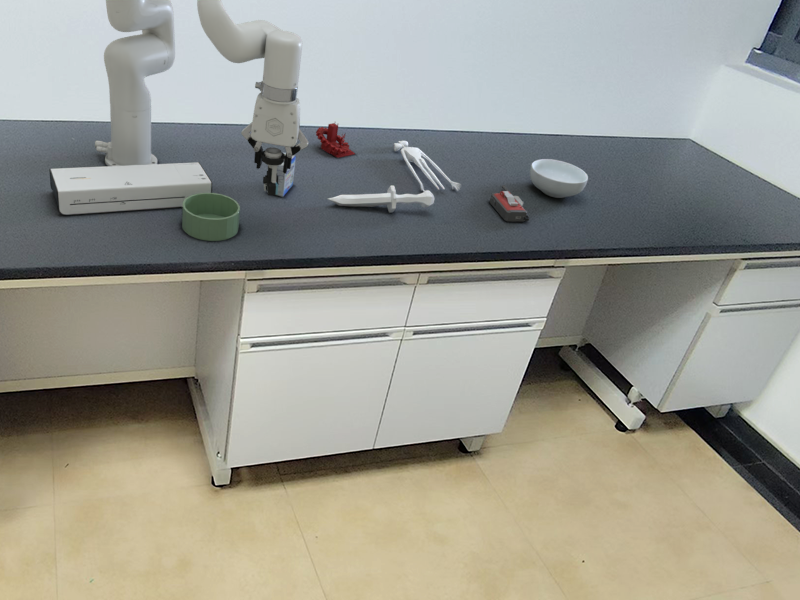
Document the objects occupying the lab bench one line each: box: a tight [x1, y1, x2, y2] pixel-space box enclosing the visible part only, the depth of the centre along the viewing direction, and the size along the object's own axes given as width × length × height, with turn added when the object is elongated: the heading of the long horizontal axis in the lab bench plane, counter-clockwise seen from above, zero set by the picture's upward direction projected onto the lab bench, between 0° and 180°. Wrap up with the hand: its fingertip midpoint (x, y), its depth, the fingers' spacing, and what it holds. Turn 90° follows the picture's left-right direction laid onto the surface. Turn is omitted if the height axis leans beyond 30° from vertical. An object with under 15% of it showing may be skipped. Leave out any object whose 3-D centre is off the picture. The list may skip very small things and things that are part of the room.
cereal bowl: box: [529, 158, 589, 199], centre depth 227 cm, size 17×17×7 cm
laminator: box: [48, 162, 213, 216], centre depth 180 cm, size 34×12×6 cm, turn 118°
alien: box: [393, 140, 462, 192], centre depth 224 cm, size 12×32×5 cm, turn 24°
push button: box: [261, 146, 285, 196], centre depth 175 cm, size 7×5×10 cm
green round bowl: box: [181, 192, 241, 242], centre depth 175 cm, size 13×13×6 cm
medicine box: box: [266, 151, 297, 198], centre depth 196 cm, size 8×4×9 cm, turn 168°
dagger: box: [327, 185, 435, 213], centre depth 198 cm, size 8×6×28 cm
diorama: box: [315, 122, 356, 159], centre depth 223 cm, size 11×12×8 cm
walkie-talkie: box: [489, 184, 530, 223], centre depth 214 cm, size 9×4×20 cm
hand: (272, 167), depth 175 cm, fingers closed on push button, 5 cm apart
